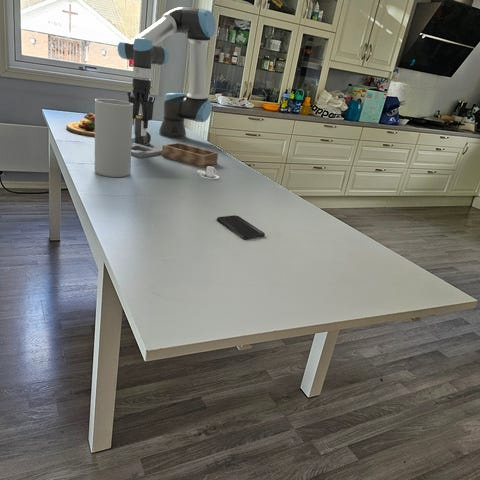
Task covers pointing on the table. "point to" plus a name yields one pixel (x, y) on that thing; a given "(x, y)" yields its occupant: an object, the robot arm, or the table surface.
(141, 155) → the grey flat square frame
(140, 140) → the battery cell
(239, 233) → the phone
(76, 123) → the wooden plate with food
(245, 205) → the table surface
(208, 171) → the teacup and saucer
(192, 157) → the walnut trough
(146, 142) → the ceramic mug
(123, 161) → the cylinder vase
